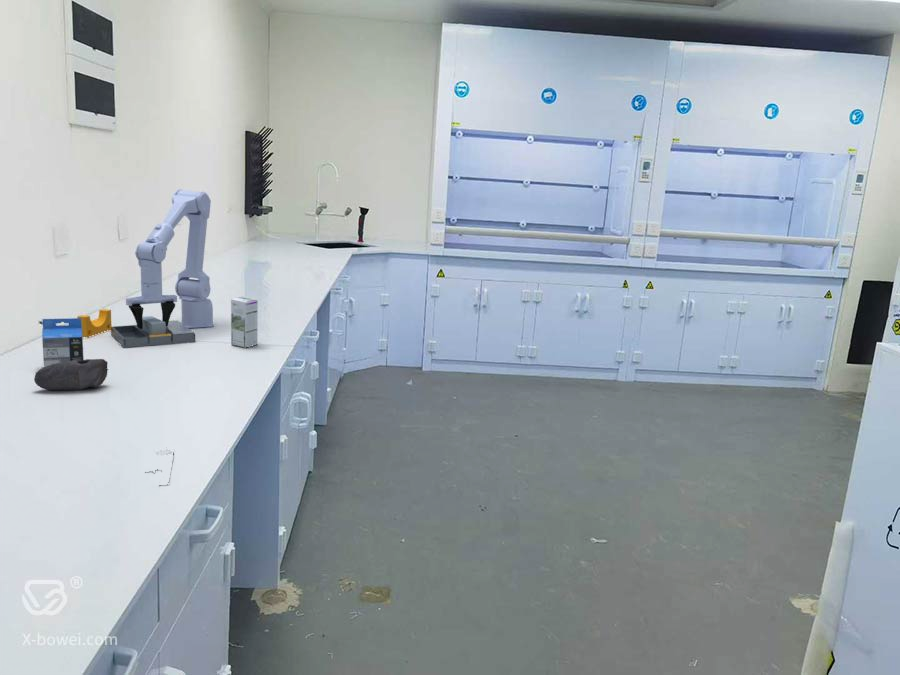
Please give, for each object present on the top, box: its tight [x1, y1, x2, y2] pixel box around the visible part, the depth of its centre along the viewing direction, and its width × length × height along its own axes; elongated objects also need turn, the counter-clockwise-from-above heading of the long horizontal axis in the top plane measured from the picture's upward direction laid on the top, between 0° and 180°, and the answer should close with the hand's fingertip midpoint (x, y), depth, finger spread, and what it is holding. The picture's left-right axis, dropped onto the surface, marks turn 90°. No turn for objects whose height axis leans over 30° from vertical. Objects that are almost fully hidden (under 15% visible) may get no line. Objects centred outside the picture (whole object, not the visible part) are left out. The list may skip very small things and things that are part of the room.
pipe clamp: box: [77, 308, 113, 338], centre depth 205 cm, size 12×4×6 cm, turn 172°
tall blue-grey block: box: [141, 315, 166, 336], centre depth 205 cm, size 4×10×5 cm, turn 47°
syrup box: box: [230, 296, 259, 349], centre depth 204 cm, size 6×6×14 cm
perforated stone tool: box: [33, 358, 109, 391], centre depth 156 cm, size 15×5×7 cm, turn 114°
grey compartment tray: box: [110, 319, 196, 349], centre depth 205 cm, size 20×16×3 cm
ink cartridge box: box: [41, 317, 85, 368], centre depth 171 cm, size 9×4×12 cm, turn 117°
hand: (152, 326), depth 204 cm, fingers open, 7 cm apart
